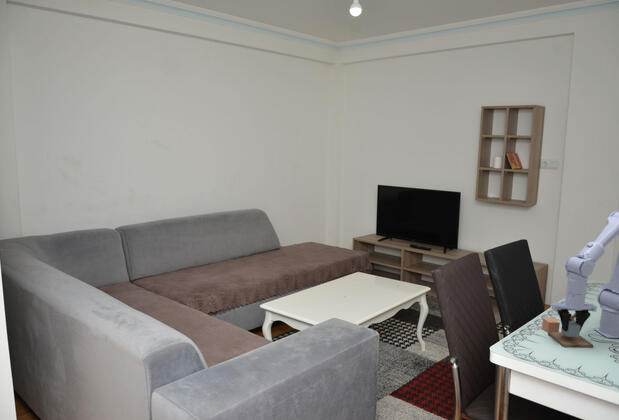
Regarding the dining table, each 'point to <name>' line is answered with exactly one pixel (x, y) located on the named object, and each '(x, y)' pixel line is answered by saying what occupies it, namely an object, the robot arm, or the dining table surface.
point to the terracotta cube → (550, 325)
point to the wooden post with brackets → (572, 317)
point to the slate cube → (572, 329)
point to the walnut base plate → (570, 340)
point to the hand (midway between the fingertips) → (571, 330)
